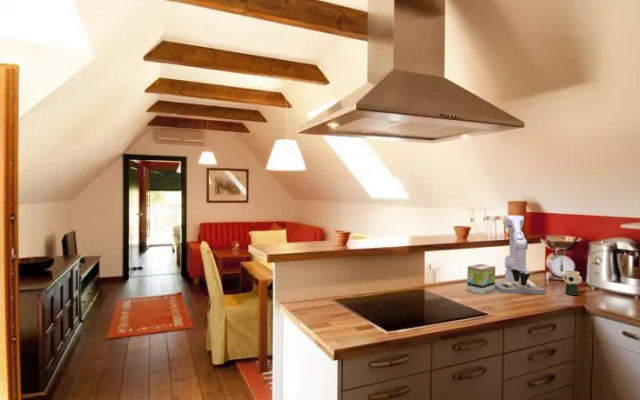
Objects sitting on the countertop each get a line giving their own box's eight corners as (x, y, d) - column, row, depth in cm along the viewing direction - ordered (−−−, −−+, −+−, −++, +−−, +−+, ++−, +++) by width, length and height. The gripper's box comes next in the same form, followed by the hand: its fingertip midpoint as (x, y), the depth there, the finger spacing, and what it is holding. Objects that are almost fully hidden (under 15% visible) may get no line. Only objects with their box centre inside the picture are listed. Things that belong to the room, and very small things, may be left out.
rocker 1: (500, 284, 214) (500, 281, 214) (505, 284, 214) (504, 281, 214) (506, 284, 206) (506, 282, 207) (511, 284, 206) (511, 282, 206)
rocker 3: (524, 281, 213) (524, 279, 213) (528, 281, 213) (529, 279, 213) (531, 287, 205) (531, 285, 205) (536, 288, 205) (536, 285, 205)
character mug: (557, 292, 206) (558, 270, 206) (566, 291, 208) (567, 269, 208) (576, 297, 196) (577, 274, 195) (585, 296, 198) (586, 273, 198)
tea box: (483, 294, 201) (483, 269, 200) (466, 291, 208) (466, 266, 208) (495, 290, 210) (495, 265, 210) (478, 286, 218) (479, 262, 218)
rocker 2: (512, 281, 214) (512, 279, 213) (516, 281, 213) (517, 279, 213) (518, 287, 206) (518, 285, 206) (523, 287, 206) (523, 285, 205)
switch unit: (491, 286, 218) (492, 281, 217) (532, 287, 216) (532, 282, 216) (502, 293, 204) (502, 287, 203) (545, 294, 202) (545, 288, 202)
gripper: (507, 258, 214) (507, 280, 214) (519, 262, 200) (519, 286, 200) (519, 258, 214) (519, 280, 214) (532, 262, 199) (532, 286, 200)
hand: (520, 283), depth 207 cm, fingers open, 7 cm apart
